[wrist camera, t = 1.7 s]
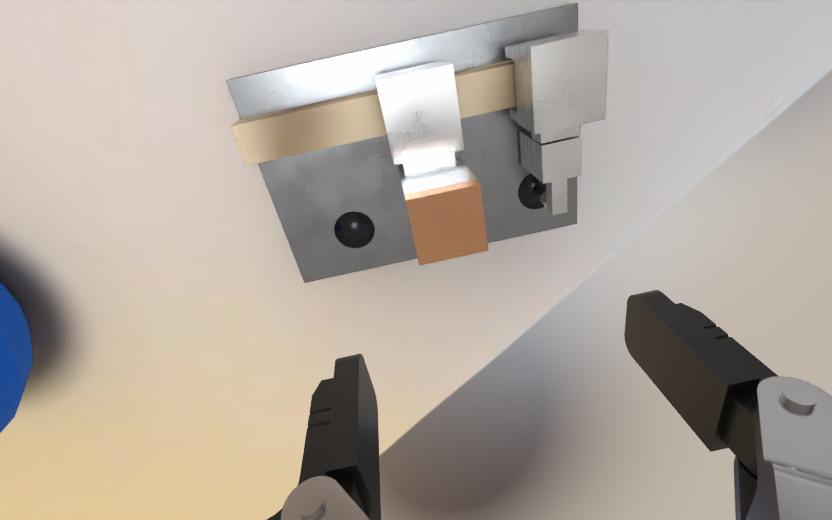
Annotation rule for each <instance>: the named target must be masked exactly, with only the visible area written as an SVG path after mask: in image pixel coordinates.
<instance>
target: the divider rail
mask: <svg viewBox="0 0 832 520" xmlns="http://www.w3.org/2000/svg"><path fill="white" fill-rule="evenodd" d="M454 76H455V83H456V91H457V98H458V106H459V113H460V119H461V118H466V117H470V116H475V115H479V114H484V113H489V112H493V111H498V110H502V109H507V108H511V107H516V91H515V75H514V60H513V59H512V60H507V61H503V62H498V63H493V64H489V65H484V66H480V67H475V68H471V69H466V70H462V71H457V72H454ZM230 129H231V132H232V134H233V136H234V139H235V141H236V144H237V146H238V149H239V151H240V154H241V156H242V159H243V161H244V163H245V166H247V165H252V164H256V163H261V162H265V161H270V160H275V159H279V158H284V157H288V156H293V155H297V154H302V153H306V152H311V151H316V150H320V149H325V148H329V147H334V146H338V145H343V144H347V143H352V142H357V141H361V140H366V139H370V138H375V137H379V136H384V135H387V131H386V126H385V122H384V117H383V113H382V108H381V104H380V99H379V95H378V90H377V89H375V90H371V91H366V92H362V93H357V94H353V95H348V96H344V97H339V98H335V99H330V100H326V101H321V102H317V103H312V104H307V105H303V106H298V107H294V108H289V109H285V110H280V111H276V112H271V113H267V114H262V115H258V116H253V117H248V118H244V119H240V120H239V121H237V122H236V123H234V124H233V125H231V126H230Z"/></svg>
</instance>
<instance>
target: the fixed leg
mask: <svg viewBox="0 0 832 520" xmlns="http://www.w3.org/2000/svg"><path fill="white" fill-rule="evenodd" d="M607 56H608V30H581V31H576V32H569V33H564V34H560V35H555V36H551V37H546V38H542V39H537V40H533V41H528V42H524V43H519V44H515V45H510V46H506V47H505V58H511V59H513V60H514V75H515V91H516V106H517V107H513V108H509V113H510V118H511V119H513V120H514V121H516V122H518V125H520V126H522V127H523V128H525V129H527V130H522V131H519V136H520V151H521V165H522V166H523V167H524V168H525V169H527V170H528V171H529V172H530V173H531V174H532V175H534V176H535V177H536V178H537V179H538V180H539V181H540V182H542V183H543V184H544V183H546V189H545V188H544V187H543V186H539V187H537V188H536V189H535V190H534V196H535V197H536V198H537V199H538V200H539V201H540V202H541V203H542V204H543V205H544V206H545V207H546V208H547V210H548V211H549V212H550V213H551V214H552V215H556V214H560V213H565V212H567V178H572V177H576V176H581V137H580V136H578V135H580V127H581V124H585V123H589V122H594V121H598V120H603V119H605V110H606V83H607Z"/></svg>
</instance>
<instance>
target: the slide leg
mask: <svg viewBox="0 0 832 520" xmlns="http://www.w3.org/2000/svg"><path fill="white" fill-rule="evenodd" d="M375 81H376V86H377V90H378V95H379V99H380V104H381V108H382V113H383V117H384V122H385V126H386V131H387V135H388V140H389V144H390V149H391V153H392V158H393V162H394V165H397V164H398V168H399V173H400V177H401V182H402V187H403V191H404V196H405V201H406V205H407V210H408V215H409V219H410V224H411V228H412V233H413V238H414V242H415V247H416V251H417V256H418V260H419V265H424V264H428V263H433V262H437V261H442V260H447V259H451V258H456V257H460V256H465V255H470V254H474V253H479V252H483V251H488V244H487V236H486V227H485V219H484V210H483V202H482V193H481V185H480V183H479V182H478V180H477V179H476V178H475V176H474V175H473V174H472V172H471V171H470V169H469V168H468V167H467V165H466V164H465V163H464V161H463V160H462V159H461V157H460V156H459V155H458V153H457V151H461V150H464V144H463V136H462V129H461V121H460V113H459V106H458V98H457V91H456V83H455V76H454V68H453V64H451V63H449V62H446V61H438V62H433V63H428V64H424V65H419V66H415V67H410V68H406V69H401V70H397V71H392V72H388V73H383V74H379V75H375Z"/></svg>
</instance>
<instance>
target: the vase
mask: <svg viewBox="0 0 832 520" xmlns="http://www.w3.org/2000/svg"><path fill="white" fill-rule="evenodd" d="M32 363H33V356H32V344H31V337H30V331H29V326H28V322H27V320H26V318H25V315H24V313H23V311H22V309H21V307H20V304H19V303H18V302H17V301H16V300H15V298H14V297H13V296H12V295H11V293H10V292H9V291H8V290H7V288H6V287H5V286H4V285H3V284H2V283H0V433H1V431H2V430H3V429H4V428H5V427H6V426H7V425H8V423H9V422H10V421H11V420H12V419H13V418H14V417H15V414H16V411H17V408H18V406H19V403H20V400H21V398H22V395H23V392H24V388H25V385H26V382H27V379H28V376H29V373H30V369H31V366H32Z"/></svg>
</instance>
